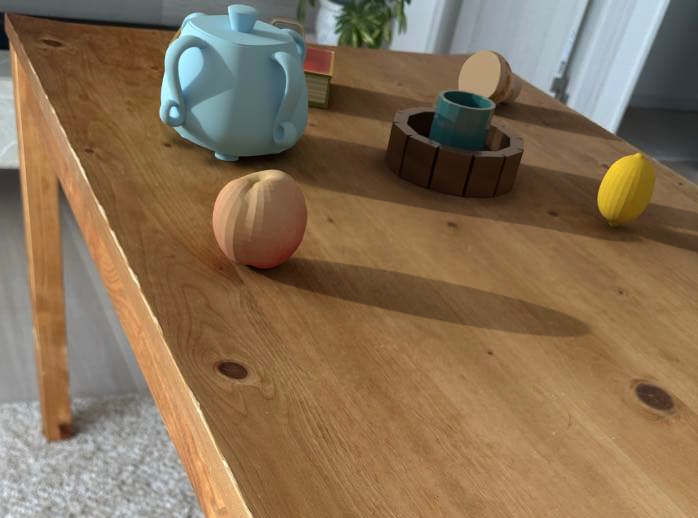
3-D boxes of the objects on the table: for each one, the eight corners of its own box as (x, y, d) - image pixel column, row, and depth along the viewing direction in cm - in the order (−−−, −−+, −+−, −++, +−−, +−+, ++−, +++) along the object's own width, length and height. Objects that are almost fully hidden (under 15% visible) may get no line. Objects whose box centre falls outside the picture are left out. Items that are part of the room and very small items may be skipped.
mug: (530, 109, 127) (542, 50, 118) (476, 143, 126) (483, 86, 117) (498, 79, 130) (507, 19, 120) (445, 112, 129) (449, 53, 119)
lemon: (577, 219, 98) (605, 146, 92) (605, 212, 101) (633, 140, 95) (618, 240, 95) (649, 166, 90) (645, 232, 98) (677, 159, 93)
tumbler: (475, 168, 105) (495, 97, 100) (474, 187, 101) (495, 113, 95) (423, 156, 106) (441, 85, 100) (419, 175, 101) (437, 101, 95)
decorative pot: (139, 151, 94) (143, 7, 85) (180, 106, 106) (187, -24, 96) (287, 183, 93) (306, 42, 84) (311, 135, 105) (331, 7, 96)
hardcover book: (181, 55, 121) (183, 21, 118) (330, 81, 122) (335, 48, 119) (166, 79, 112) (167, 43, 110) (326, 108, 113) (332, 73, 111)
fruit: (232, 234, 82) (241, 147, 77) (311, 259, 81) (325, 172, 75) (195, 266, 76) (201, 174, 71) (279, 293, 75) (292, 201, 70)
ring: (511, 162, 109) (523, 124, 106) (511, 207, 98) (524, 167, 95) (392, 136, 109) (400, 98, 106) (378, 178, 98) (387, 137, 95)
